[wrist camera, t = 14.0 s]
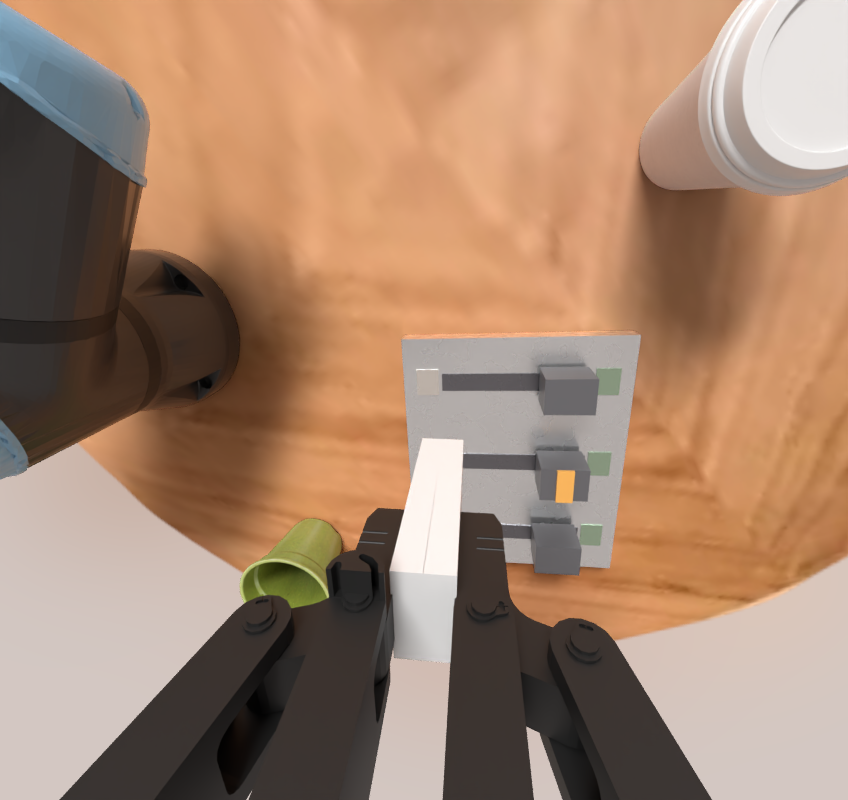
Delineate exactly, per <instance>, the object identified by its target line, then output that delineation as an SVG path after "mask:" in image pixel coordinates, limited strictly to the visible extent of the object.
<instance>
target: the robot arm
mask: <svg viewBox="0 0 848 800" xmlns="http://www.w3.org/2000/svg"><path fill="white" fill-rule="evenodd" d="M149 130H150V121H149V115H148V112H147V109H146V106H145V104H144V102H143V100H142V99H141V97H140V96H139V94H138V93H137V91H136V90H135V89H134V88H133V87H132V86H131V85H130V84H129V83H128V82H127V81H126V80H125V79H123V78H122V77H121V76H119V75H118V74H116V73H115V72H113V71H111V70H110V69H108V68H107V67H105V66H104V65H102V64H100V63H99V62H97V61H96V60H94V59H92V58H91V57H89V56H88V55H86V54H84V53H83V52H81V51H80V50H78V49H76V48H75V47H73V46H72V45H70V44H68V43H67V42H65V41H64V40H62V39H60V38H59V37H57V36H56V35H54V34H52V33H51V32H49V31H47V30H46V29H44V28H43V27H41V26H39V25H38V24H36V23H35V22H33V21H31V20H30V19H28V18H27V17H25V16H23V15H22V14H20V13H19V12H17V11H15V10H14V9H12V8H11V7H9V6H7V5H6V4H4V3H2V2H1V1H0V479H3V478H5V477H9V476H16V475H19V474H21V473H23V472H24V471H26V470H27V468H29V467H31V466H32V465H35V464H37V463H39V462H41V461H42V460H44V459H46V458H48V457H50V456H52V455H54V454H56V453H58V452H60V451H62V450H64V449H66V448H68V447H70V446H72V445H74V444H75V443H78V442H79V441H81V440H83V439H85V438H87V437H89V436H91V435H93V434H95V433H97V432H99V431H101V430H103V429H105V428H107V427H109V426H111V425H113V424H115V423H116V422H118V421H120V420H122V419H124V418H126V417H128V416H130V415H132V414H134V413H136V412H138V411H147V410H157V409H167V408H177V407H184V406H188V405H192V404H195V403H197V402H199V401H201V400H203V399H205V398H207V397H209V396H210V395H212V394H214V393H215V392H217V391H218V390H220V389H221V388H222V387H223V386H224V385H225V384H226V383H227V382H228V380H229V379H230V377H231V376H232V374H233V372H234V370H235V367H236V364H237V361H238V356H239V333H238V327H237V323H236V320H235V316H234V314H233V311H232V309H231V307H230V305H229V303H228V301H227V299H226V297H225V296H224V294H223V293H222V291H221V290H220V288H219V287H218V286H217V285H216V283H215V282H214V281H213V280H212V279H211V278H210V277H209V276H208V275H207V274H206V273H205V272H204V271H203V270H201V269H200V268H199V267H197V266H196V265H195V264H193V263H192V262H190V261H188V260H186V259H185V258H183V257H181V256H178V255H176V254H173V253H170V252H166V251H161V250H130V248H131V243H132V238H133V233H134V228H135V223H136V218H137V213H138V208H139V203H140V198H141V193H142V188H143V187H146V185H147V179H146V177H145V176H144V172H145V162H146V152H147V145H148V137H149ZM463 441H464V440H456V439H431V438H422V442H421V446H420V450H419V454H418V458H417V462H416V466H415V470H414V474H413V478H412V482H411V486H410V490H409V494H408V498H407V502H406V506H405V510H401V509H384V508H378V509H377V510H376V511H375V512H373V513H372V514H371V515H370V516H369V517H368V518H367V521H366V523H365V526H364V529H363V533H362V534H361V537H360V540H359V543H358V545H357V548H356V550H353V551H348V552H345V553H343V554H340V555H338V556H337V557H336V558H334V559H333V560H331V562H330V563H329V564H328V566H327V567H326V577H327V585H328V593H329V598H327V599H325V600H323V601H321V602H318V603H314V604H310V605H305V606H300V607H295V608H291V606H290V605H289V603H288V601H287V600H286V599H284V598H282V597H281V596H276V595H265V596H259V597H256V598H254V599H252V600H250V601H248V602H246V603H244V604H243V605H242V606H241V607H240V608H238V609H237V610H236V611H235V612H234V613H233V614H232V615H231V616H230V617H229V618H228V619H227V621H226V622H225V623H224V624H223V625H222V626H221V627H220V628H219V629H218V630H217V631H216V632H215V634H213V636H212V637H211V638H210V639H209V640H208V641H207V642H206V643H205V644H204V645H203V646H202V647H201V648H200V649H199V651H198V652H197V653H196V654H195V655H194V656H193V657H192V658H191V659H190V660H189V661H188V662H187V663H186V665H185V666H184V667H183V668H182V669H181V670H180V671H179V672H178V673H177V674H176V675H175V676H174V677H173V678H172V680H171V681H170V682H169V683H168V684H167V685H166V686H165V687H164V688H163V689H162V690H161V691H160V692H159V694H158V695H157V696H156V697H155V698H154V699H153V700H152V701H151V702H150V703H149V704H148V705H147V707H145V709H144V710H143V711H142V712H141V713H140V714H139V715H138V716H137V717H136V718H135V719H134V720H133V721H132V723H131V724H130V725H129V726H128V727H127V728H126V729H125V730H124V731H123V732H122V733H121V734H120V735H119V737H118V738H117V739H116V740H115V741H114V742H113V743H112V744H111V745H110V746H109V747H108V748H107V749H106V751H104V753H103V754H102V755H101V756H100V757H99V758H98V759H97V760H96V761H95V762H94V763H93V764H92V765H91V767H90V768H89V769H88V770H87V771H86V772H85V773H84V774H83V775H82V776H81V777H80V778H79V779H78V781H77V782H76V783H75V784H74V785H73V786H72V787H71V788H70V789H69V790H68V791H67V792H66V793H65V795H64V796H63V797H62V798H61V799H60V800H246V799H247V797H248V796H249V794H250V793H251V791H252V793H251V795H250V798H249V800H369V795H370V789H371V784H372V778H373V773H374V767H375V762H376V756H377V750H378V746H379V740H380V735H381V729H382V724H383V718H384V713H385V708H386V702H387V696H388V691H389V686H390V661H391V656H392V650H393V651H394V658H400V659H410V660H420V661H431V662H441V663H450V680H449V698H448V715H447V733H446V751H445V770H444V786H443V800H534V797H533V788H532V779H531V769H530V759H529V749H528V740H527V732H526V726H527V727H529V728H531V729H533V730H535V731H537V732H539V733H540V736H541V739H542V742H543V745H544V748H545V750H546V753H547V756H548V759H549V762H550V765H551V768H552V770H553V773H554V776H555V779H556V782H557V785H558V788H559V791H560V793H561V796H562V799H563V800H712V799H711V797H710V796H709V794H708V793H707V791H706V789H705V788H704V786H703V784H702V783H701V781H700V780H699V778H698V776H697V775H696V773H695V771H694V770H693V768H692V767H691V765H690V763H689V762H688V760H687V758H686V757H685V755H684V754H683V752H682V750H681V749H680V747H679V745H678V744H677V742H676V741H675V739H674V737H673V736H672V734H671V732H670V731H669V729H668V727H667V726H666V724H665V723H664V721H663V720H662V718H661V716H660V714H659V713H658V711H657V710H656V708H655V706H654V705H653V703H652V702H651V700H650V698H649V697H648V695H647V693H646V692H645V690H644V688H643V687H642V685H641V683H640V682H639V680H638V679H637V677H636V676H635V674H634V672H633V671H632V669H631V667H630V666H629V664H628V662H627V661H626V659H625V657H624V656H623V654H622V653H621V651H620V649H619V648H618V646H617V644H616V643H615V641H614V640H613V639H612V638H611V637H610V635H609V634H608V633H607V632H606V631H605V630H603V629H602V628H600V627H599V626H597V625H596V624H594V623H592V622H589V621H586V620H583V619H575V618H568V619H565V620H562V621H559V622H558V623H557V624H556V625H555V626H554V627H550V626H547V625H544V624H542V623H539V622H537V621H534V620H532V619H530V618H528V617H527V616H525V615H524V614H523V613H521V612H520V611H519V610H518V609H517V608H516V607H515V605H514V604H513V602H512V600H511V598H510V595H509V590H508V580H507V570H506V560H505V552H504V541H503V530H502V524H501V523H500V522H499V520H498V519H497V517H496V516H495V515H494V514H491V513H473V512H462V479H463ZM252 789H253V790H252Z"/></svg>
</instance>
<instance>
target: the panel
mask: <svg viewBox="0 0 848 800" xmlns="http://www.w3.org/2000/svg"><path fill="white" fill-rule="evenodd" d="M640 340H641V335H640V334H639V333H637V332H635V331H634V330H619V331H568V332H517V333H467V334H416V335H405V336H404V337H403V338H402V339H401V342H402V357H403V372H404V387H405V402H406V417H407V431H408V446H409V461H410V476H411V482H412V478H413V474H414V470H415V466H416V462H417V458H418V454H419V450H420V446H421V442H422V438H431V439H456V440H464V441H463V479H462V512H473V513H491V514H494V515H495V516H496V517H497V519H498V520H499V522H500V523H501V524H502V530H503V541H504V552H505V560H506V562H509V563H527V564H533V559H532V553H531V531H532V523H549V524H573V525H574V526H575V529H576V532H577V536H578V539H579V542H580V545H581V548H582V552H581V562H580V566H581V567H599V568H610V561H611V554H612V547H613V539H614V532H615V525H616V517H617V510H618V502H619V495H620V488H621V480H622V473H623V465H624V458H625V451H626V443H627V436H628V429H629V421H630V414H631V406H632V399H633V392H634V384H635V377H636V370H637V362H638V355H639V347H640ZM540 367H590V369H591V370H592V371H593V372H594V373H595V375H596V376H597V377H598V378H599V389H598V399H597V408H596V415H543V412H542V409H541V406H540V403H539V400H538V396H539V376H540ZM536 451H582V453H583V455H584V458H585V460H586V462H587V464H588V466H589V468H590V470H591V473H590V483H589V492H588V502H582V501H573V503H555V501H553V500H539V495H538V491H537V486H536V482H535V467H536Z"/></svg>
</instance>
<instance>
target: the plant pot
mask: <svg viewBox="0 0 848 800" xmlns="http://www.w3.org/2000/svg"><path fill="white" fill-rule="evenodd" d="M341 548H342V541H341V537H340V535H339V534H338V533H337V532H336V531H335V530H334V529H333V528H332V526H331V525H330V524H329V523H327V522H325V521H322V520H319V519H305V520H303V521H301V522H299V523H297V524H296V525H295V526H294V527H293V528H292V529H291V530H290V531H289V532H288V533H287V535H286V536H285V537H284V538H283V539H282V540H281V541H280V542H279V543H278V544H277V545H276V546H275V547H274V549H273V550H272V551H271V552H270V553H269V554H268V555H266V556H264V557H263V558H262V559H260V560H259V561H257V562H255V563H253V564H251V565H250V566H249V567H248V568H247V569H246V570H245V571H244V573H243V575H242V577H241V580H240V594H241V596H242V599H243V602H244V603H246V602H248V601H250V600H252V599H254V598H256V597H259V596H265V595H276V596H281V597H282V598H284V599H286V600H287V601H288V603H289V605H290V606H291V608H295V607H300V606H305V605H310V604H314V603H318V602H321V601H323V600H325V599H327V598H329V593H328V585H327V577H326V567H327V566H328V564H329V563H330V562H331V560H333V559H334V558H336V557H337V556H338V555H340V552H341Z"/></svg>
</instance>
